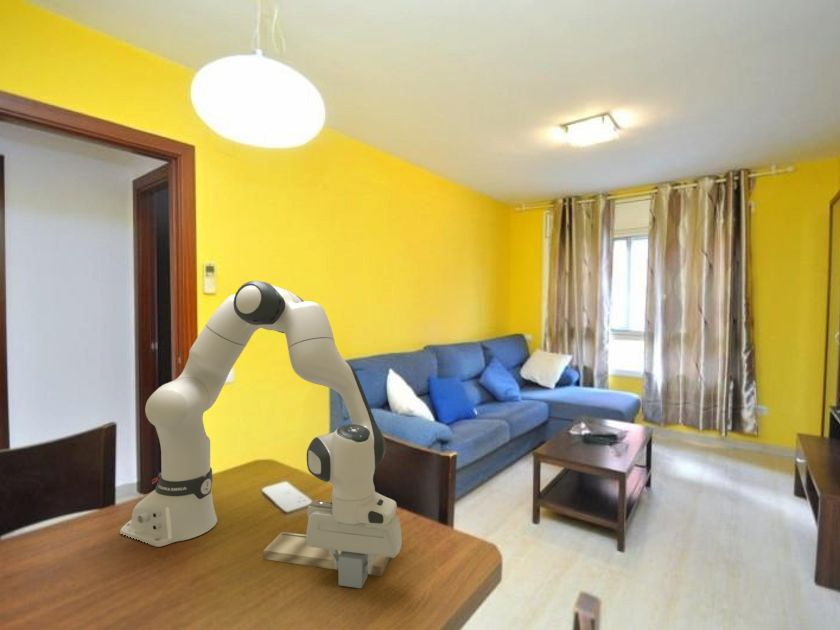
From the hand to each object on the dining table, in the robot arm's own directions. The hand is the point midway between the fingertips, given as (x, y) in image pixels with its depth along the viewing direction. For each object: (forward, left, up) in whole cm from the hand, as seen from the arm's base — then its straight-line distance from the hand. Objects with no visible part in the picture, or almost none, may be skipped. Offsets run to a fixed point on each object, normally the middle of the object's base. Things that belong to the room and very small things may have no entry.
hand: (353, 569), depth 88 cm
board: (-9, +7, -3) cm, 11 cm away
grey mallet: (0, +4, -2) cm, 5 cm away
